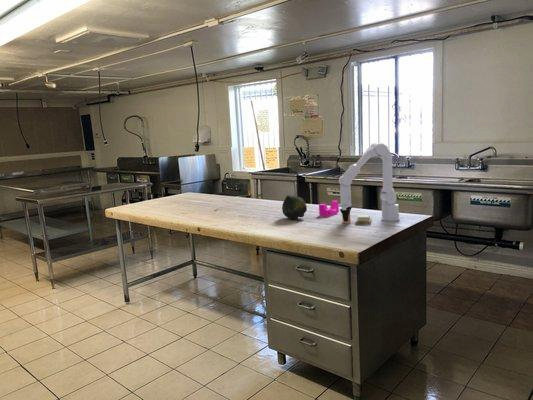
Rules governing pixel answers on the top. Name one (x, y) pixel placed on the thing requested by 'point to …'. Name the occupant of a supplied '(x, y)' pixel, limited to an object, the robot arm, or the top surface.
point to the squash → (294, 207)
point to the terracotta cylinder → (346, 221)
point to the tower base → (363, 222)
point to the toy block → (331, 211)
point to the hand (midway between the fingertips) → (346, 220)
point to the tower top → (363, 217)
